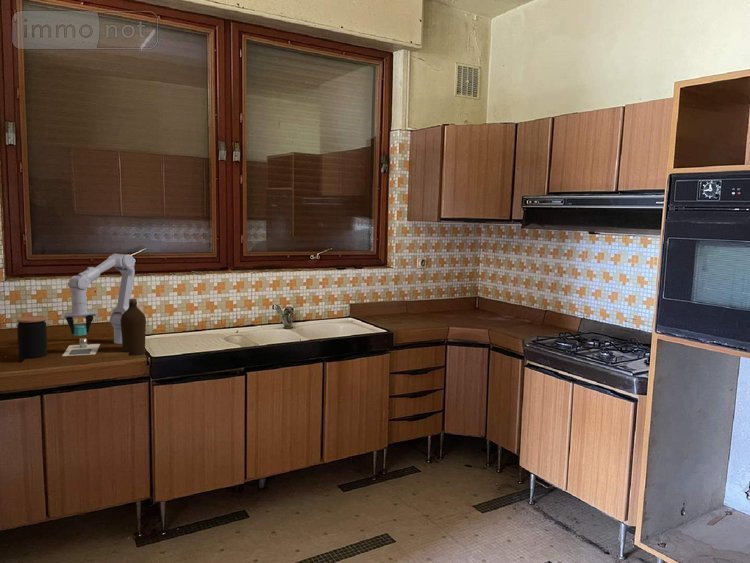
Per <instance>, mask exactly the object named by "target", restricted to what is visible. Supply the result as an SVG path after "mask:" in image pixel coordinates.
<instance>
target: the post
mask: <svg viewBox="0 0 750 563" xmlns="http://www.w3.org/2000/svg"><path fill="white" fill-rule="evenodd" d="M87 344H88V338H86V337H81V338H79V345H80V348H86V347H87Z"/></svg>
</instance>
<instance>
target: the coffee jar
mask: <svg viewBox="0 0 750 563" xmlns="http://www.w3.org/2000/svg"><path fill="white" fill-rule="evenodd" d="M46 320H47V317H46V316H43V315H42V316H41V315H31V316H30V315H29V316H22V317H18V318H17V319H16V321H17V322H18V323H17V324H16V327H17V328H16V330H17V331H16V332H17V350H18V352H17V353H18V359H19V361H21V362H22V363H23V362H24V361H25V360H33V359H34V360H35V359H41V358H44V357H47V356H48V353H49V352H48V335H47V334H48V332H47V322H46Z"/></svg>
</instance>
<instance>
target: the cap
mask: <svg viewBox="0 0 750 563" xmlns="http://www.w3.org/2000/svg"><path fill="white" fill-rule="evenodd" d="M73 328H74V334H72V335H73V336H85V335H88V333H87V327H86V324H73Z"/></svg>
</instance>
